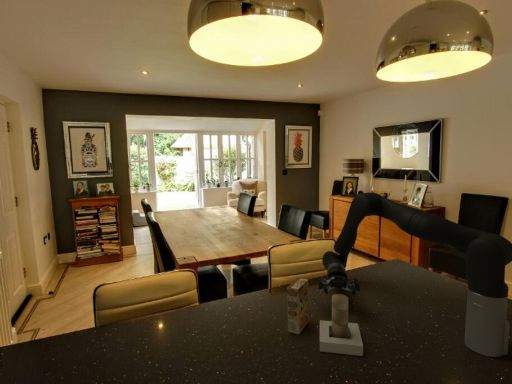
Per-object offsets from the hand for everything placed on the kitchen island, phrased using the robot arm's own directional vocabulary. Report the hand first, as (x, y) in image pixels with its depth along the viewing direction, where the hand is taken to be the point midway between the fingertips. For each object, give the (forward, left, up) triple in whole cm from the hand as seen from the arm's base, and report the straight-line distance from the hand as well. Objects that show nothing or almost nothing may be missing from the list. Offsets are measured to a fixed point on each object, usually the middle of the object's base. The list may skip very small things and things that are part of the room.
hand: (339, 292), depth 103 cm
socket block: (+1, +11, -11) cm, 16 cm away
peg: (+1, +11, -11) cm, 16 cm away
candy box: (+14, +5, -11) cm, 18 cm away
